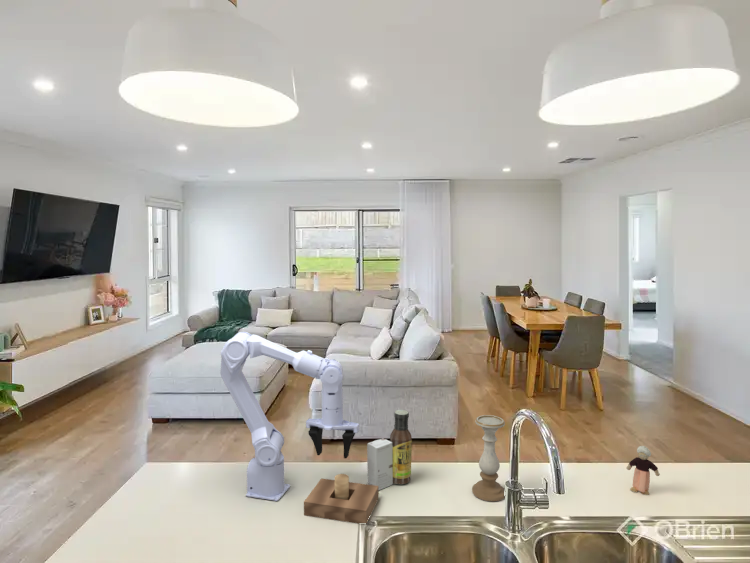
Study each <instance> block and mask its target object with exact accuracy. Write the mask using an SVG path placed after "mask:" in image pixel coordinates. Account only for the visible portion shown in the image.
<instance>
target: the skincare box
mask: <svg viewBox="0 0 750 563" xmlns="http://www.w3.org/2000/svg"><path fill="white" fill-rule="evenodd" d="M366 445H367V446H366V449H367V450H366V451H367V453H366V455H367V458H366V459H367V462H366V463H367V464H366V465H367V466H366V467H367V468H366V469H367V471H366V472H367V473H366V474H367V475H366V476H367V484H368V485H375V486H379V491H380V490H382V489H385V488H388V487H390V486H392V485H394V483H393V446H392V442H390V440H388V439H386V438H379V439H375V440H373V441H370V442H368V443H367V444H366Z"/></svg>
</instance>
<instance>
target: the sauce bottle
mask: <svg viewBox="0 0 750 563" xmlns="http://www.w3.org/2000/svg"><path fill="white" fill-rule="evenodd" d="M409 413H410V412H409V411H407V410H405V409H396V410H395V411H394V413H393V414H394V425H393V426H394V428H393V429H392V431H391V433H390V436H389V437H390V438H389V441H390V442H392V446H393V485H399V486H400V485H406V484H408V483H410V481H411V475H412V454H413V453H412V450H413V449H412V448H413V447H412V446H413V439H412V434H411V432H410V430H409V416H410V414H409Z"/></svg>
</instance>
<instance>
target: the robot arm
mask: <svg viewBox="0 0 750 563" xmlns="http://www.w3.org/2000/svg"><path fill="white" fill-rule="evenodd" d="M219 355H220V358H221V359H220V370H219V371H220V372H219V374H220V376H221V379H222V382H224V384H225V387H226V388H227V390H228V391H229V394H230V396H231V397H232V400H233V401H234V403H235V406H236V407H237V409H238V411H239V413H240V415H241V417H242V418H243V420H244V423H245V425H246V426H247V428H248V430H249V431H250V433H251V444H252V446H253V449H254V457H253V458H251V459H250V461H249V462H248V465H247V468H246V490H247V491H246V494H245V496H246V497H248V498H256V499H262V500H269V501H276V502H277V501H279V500H280V499H282V497H283V495H285V493H286V492H288V490H289V489H290V487H291V484H289V483H285V457H284V454H283V453H282V451H281V450H282V448H283V446H284V444H285V437H284V436H283V434H282V433H281V431H279V430H278V429H277V428H276V427H275V424H273V423H272V422H270V421H269V420H268V418H267V416H266V414H265V412H264V410H263V408H262V407H261V405H260V403H259V401H258V399H257V398H256V395H255V393H254V392H253V389H252V388H251V386H250V384H249V382H248V380H247V378H246V376H245V374H244V372H243V369H244V367H245V363H246V361H247V359H248V357H249V358H250V359H253V358H257V357H260V356H261V357H262V356H265V357H267V358H271V359H273V360H277V361H280V362H284V363H286V364H290V365H291V366H292V367H293V370H294V371H295V372H298V373H299V374H302V375H305V376H308V377H311V378H314V379H316V380H320V382H321V383H322V384H321V386H322V388H321V393H320V395H321V418H308V419H307V420H305V428H306V429H309V430H308V431H307V432H308V433H307V434H308V435H309V437H310V439H311V441H312V442H313V445H314V449H315V452H316V455H317V456H320V455H321V454H322V453H323V431H332V430H333V431H344V432H343V434H341V435H342V436H341V437H342V444H343V459H347V458H348V457H349V455H350V449H351V445H352V442H353V439H354V438H355V435H356V434H358V433H359V431H360V423H357V422H353V421H349V420H345V419H344V396H343V395H344V394H343V393H344V390H343V378H344V376H343V372H344V369H343V365H342V364H341V362H339V361H338V360H336V359H335V358H331V359H330V358H329V357H325V358H324V357H321V356H320V355H317V354H314V353H313V351H312V350H309V349H308V350H307V351H306V350H300V351H299V352H295V351H293V350H291V349H289V348H287V347H285V346H282V345H280V344H278V343H275V342H273V341H271V340H268V339H266V338H264V337H262V336H260V335H258V334H251V333H249V332H247V331H240V332H237V333H236V334H234V336H233V337H231V338H230V339H228V340H227V341H226V342H225V343H224V345H223V347H222V349H221V351H220V354H219Z"/></svg>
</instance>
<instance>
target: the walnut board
mask: <svg viewBox="0 0 750 563" xmlns="http://www.w3.org/2000/svg"><path fill="white" fill-rule="evenodd" d="M379 491H380V490H379V486H375V485H368V483H361V482H359V483H358V482H353V481H352V482H351V481H349V500H343V499H336V498H335V479H328V478H320V479H319V481H318V482H317V484H316V485H314V488H313V489H312V490H311V492H310V493H309V494H308V495H307V497H305V498H306V499H304V500H303V515H304V516H307V517H311V518H312V517H314V518H319V519H325V520H333V521H338V522H339V521H340V522H343V523H344V522H346V523H351V524H358V525H360V524H359V523H367V524H368V522H367V520H368V518H369V516H370V515H372V514H373V511H374V509H375V507H376V505H377V504H378V501H379V496H380V495H379V494H380V493H379ZM370 517H371V516H370ZM369 519H370V518H369ZM368 521H369V520H368Z"/></svg>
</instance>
